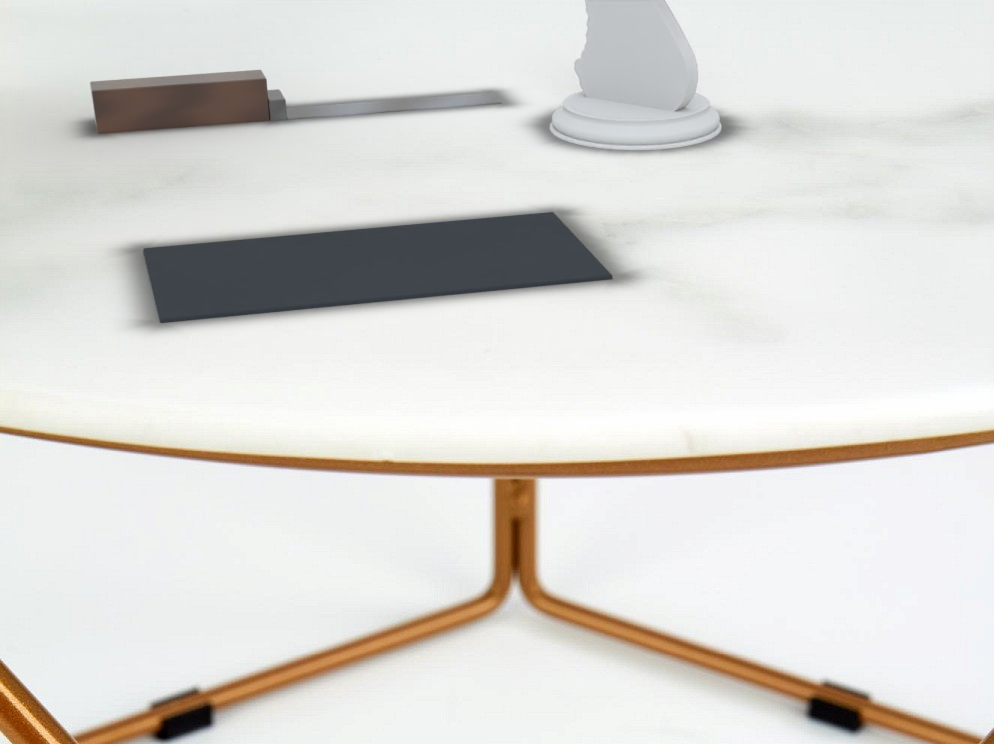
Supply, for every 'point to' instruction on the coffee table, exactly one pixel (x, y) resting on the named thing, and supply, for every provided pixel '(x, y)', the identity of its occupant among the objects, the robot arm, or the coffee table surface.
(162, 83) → the knife
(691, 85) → the chess piece
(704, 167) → the coffee table surface
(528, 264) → the slate mat
